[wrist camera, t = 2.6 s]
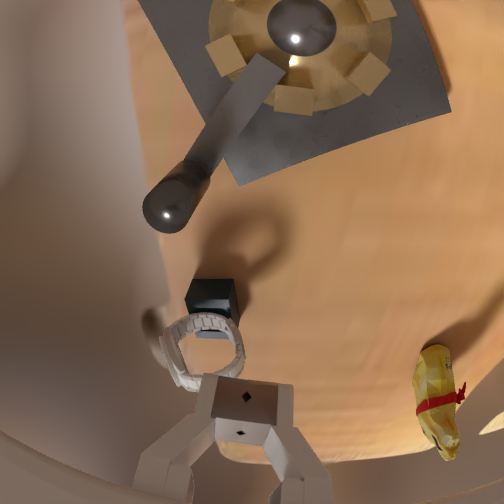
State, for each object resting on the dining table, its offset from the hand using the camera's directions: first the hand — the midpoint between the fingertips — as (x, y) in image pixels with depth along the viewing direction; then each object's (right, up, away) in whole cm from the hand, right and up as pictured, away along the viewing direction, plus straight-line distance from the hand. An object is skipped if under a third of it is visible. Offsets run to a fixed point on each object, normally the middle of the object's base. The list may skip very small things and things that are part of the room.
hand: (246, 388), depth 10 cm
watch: (-4, 0, +24) cm, 24 cm away
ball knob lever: (+1, +17, +9) cm, 19 cm away
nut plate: (+4, +21, +9) cm, 23 cm away
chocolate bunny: (+25, -11, +27) cm, 39 cm away
